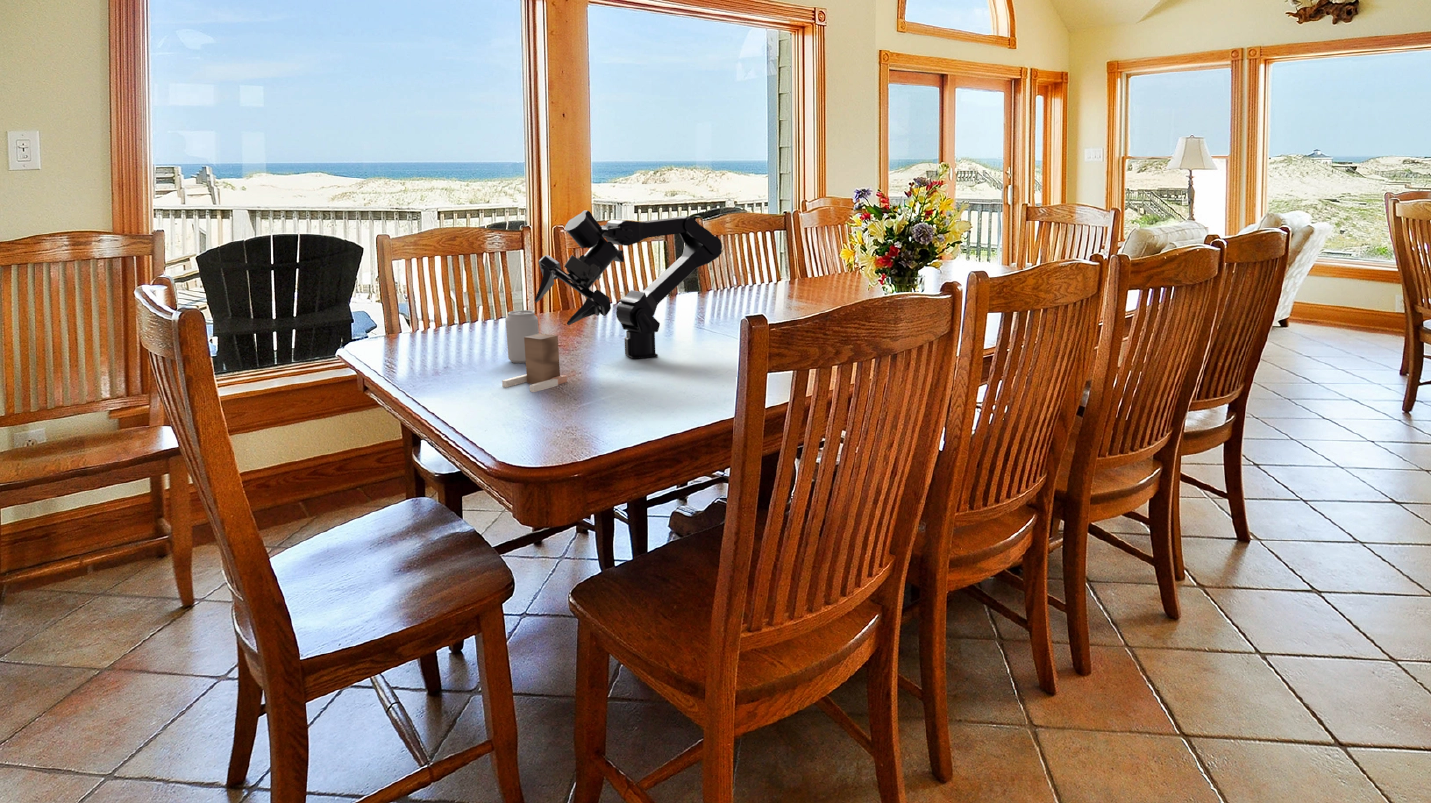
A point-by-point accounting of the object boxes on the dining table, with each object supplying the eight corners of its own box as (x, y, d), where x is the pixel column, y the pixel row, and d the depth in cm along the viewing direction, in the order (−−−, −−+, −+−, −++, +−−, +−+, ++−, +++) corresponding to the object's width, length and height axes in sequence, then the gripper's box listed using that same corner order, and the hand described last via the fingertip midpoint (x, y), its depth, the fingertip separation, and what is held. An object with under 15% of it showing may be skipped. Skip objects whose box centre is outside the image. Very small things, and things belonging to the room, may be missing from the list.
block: (543, 378, 209) (541, 333, 207) (560, 381, 207) (557, 335, 204) (527, 382, 206) (524, 337, 203) (543, 385, 203) (540, 339, 200)
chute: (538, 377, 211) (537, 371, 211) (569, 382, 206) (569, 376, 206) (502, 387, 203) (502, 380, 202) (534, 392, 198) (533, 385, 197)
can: (533, 365, 224) (530, 314, 221) (503, 364, 226) (499, 313, 223) (545, 358, 231) (542, 309, 228) (515, 357, 233) (512, 308, 230)
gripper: (558, 223, 213) (513, 274, 209) (625, 269, 210) (581, 322, 206) (563, 246, 224) (521, 295, 219) (627, 290, 221) (585, 341, 217)
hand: (551, 312), depth 215 cm, fingers open, 9 cm apart
